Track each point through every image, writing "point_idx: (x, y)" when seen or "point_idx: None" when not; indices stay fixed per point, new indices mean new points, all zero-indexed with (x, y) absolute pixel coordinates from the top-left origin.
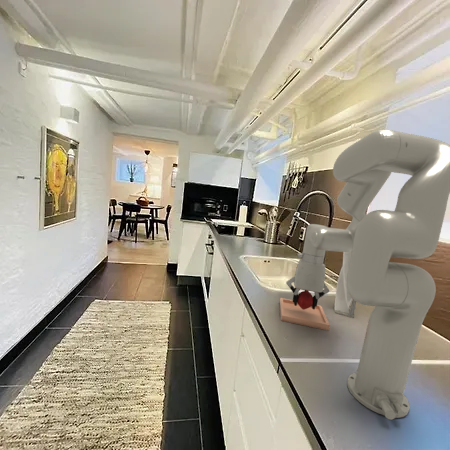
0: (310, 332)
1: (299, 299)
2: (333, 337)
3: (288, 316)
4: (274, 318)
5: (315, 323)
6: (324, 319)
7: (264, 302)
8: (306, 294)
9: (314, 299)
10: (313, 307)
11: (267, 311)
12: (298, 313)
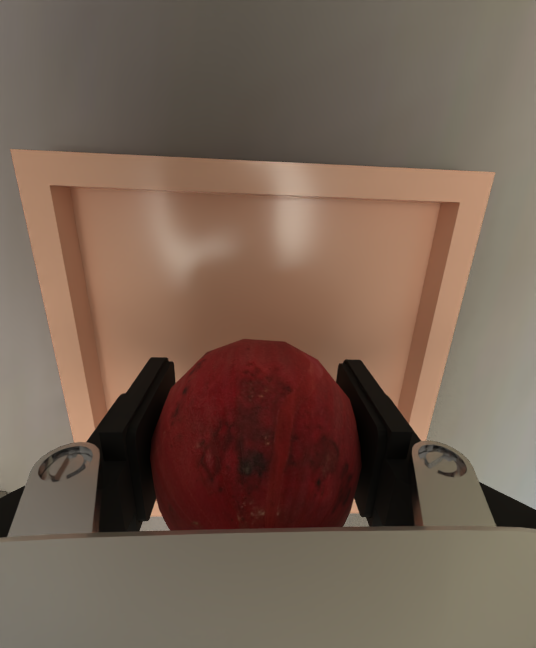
0: (223, 41)
1: (343, 399)
2: (4, 22)
3: (431, 172)
4: (504, 201)
5: (163, 159)
6: (68, 275)
7: (505, 438)
8: (269, 469)
9: (133, 431)
10: (161, 364)
11: (526, 305)
12: (291, 343)
